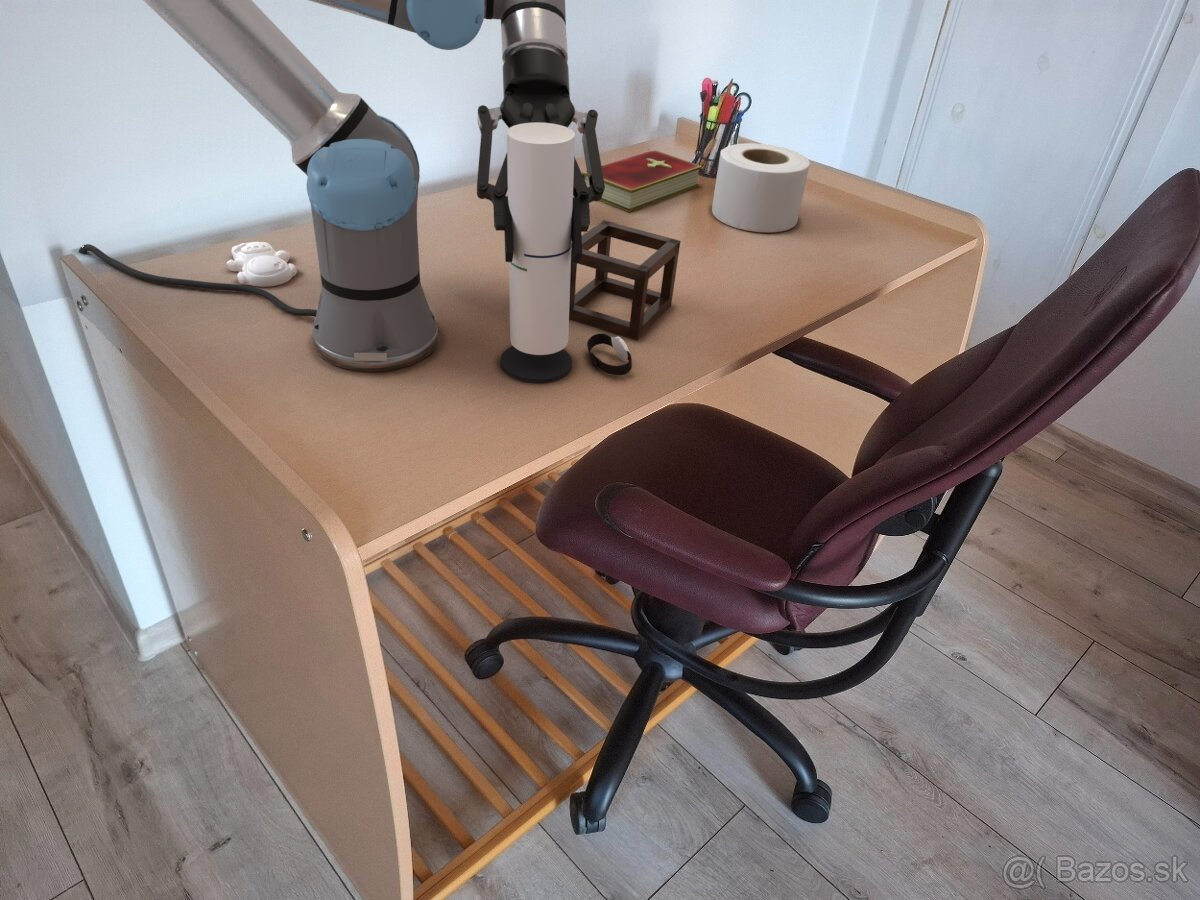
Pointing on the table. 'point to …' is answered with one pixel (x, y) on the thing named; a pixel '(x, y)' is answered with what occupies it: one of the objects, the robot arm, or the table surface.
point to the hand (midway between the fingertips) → (543, 257)
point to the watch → (619, 348)
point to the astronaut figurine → (261, 264)
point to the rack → (639, 273)
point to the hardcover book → (646, 179)
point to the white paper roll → (759, 187)
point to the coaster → (535, 365)
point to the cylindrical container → (540, 235)
